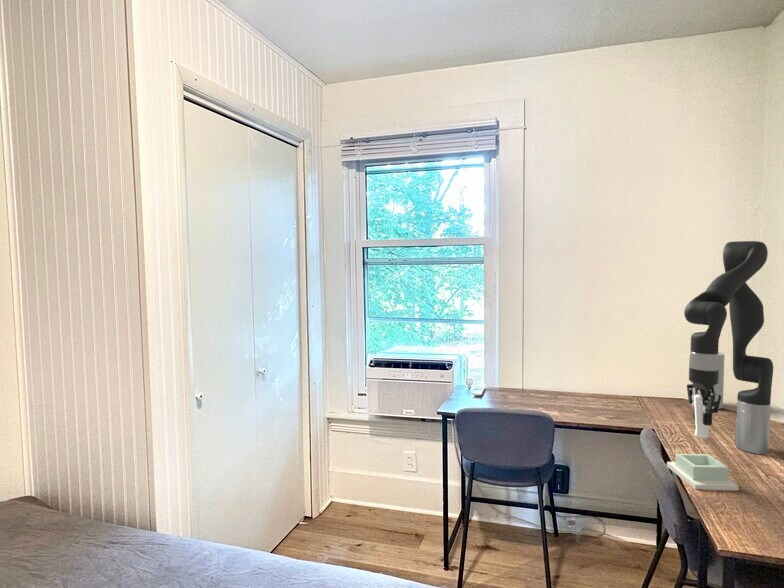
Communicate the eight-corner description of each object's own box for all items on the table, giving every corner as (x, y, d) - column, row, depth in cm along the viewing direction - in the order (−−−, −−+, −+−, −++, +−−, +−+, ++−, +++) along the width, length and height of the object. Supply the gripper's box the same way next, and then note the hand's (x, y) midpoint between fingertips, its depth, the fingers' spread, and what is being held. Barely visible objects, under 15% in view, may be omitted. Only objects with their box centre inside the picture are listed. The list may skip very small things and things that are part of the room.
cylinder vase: (687, 405, 216) (688, 352, 215) (694, 400, 225) (695, 349, 224) (719, 411, 207) (721, 356, 206) (725, 405, 216) (727, 352, 215)
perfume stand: (666, 466, 151) (667, 449, 151) (705, 467, 150) (705, 450, 150) (695, 489, 135) (695, 471, 135) (738, 490, 135) (738, 472, 134)
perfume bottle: (711, 435, 143) (712, 387, 142) (709, 439, 139) (710, 390, 139) (694, 432, 146) (694, 384, 145) (691, 435, 142) (692, 387, 142)
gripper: (732, 372, 134) (730, 430, 135) (702, 362, 148) (701, 415, 149) (704, 372, 134) (703, 430, 135) (678, 362, 148) (676, 414, 149)
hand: (702, 421), depth 142 cm, fingers closed on perfume bottle, 4 cm apart
